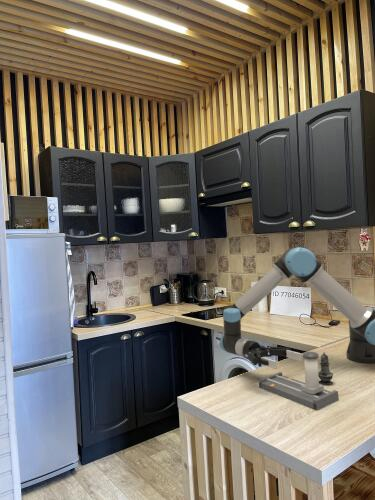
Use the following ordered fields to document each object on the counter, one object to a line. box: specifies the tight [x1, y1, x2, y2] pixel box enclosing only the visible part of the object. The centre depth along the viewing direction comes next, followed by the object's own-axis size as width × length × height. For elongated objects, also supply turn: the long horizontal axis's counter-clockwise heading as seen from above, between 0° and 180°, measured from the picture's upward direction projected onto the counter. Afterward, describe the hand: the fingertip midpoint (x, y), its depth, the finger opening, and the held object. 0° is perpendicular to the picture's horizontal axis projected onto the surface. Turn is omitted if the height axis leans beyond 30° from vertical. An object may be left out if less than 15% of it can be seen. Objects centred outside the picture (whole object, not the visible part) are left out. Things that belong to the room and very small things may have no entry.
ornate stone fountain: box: [318, 351, 334, 387], centre depth 140 cm, size 6×6×12 cm
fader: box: [301, 351, 325, 395], centre depth 126 cm, size 6×5×13 cm
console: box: [258, 371, 340, 411], centre depth 132 cm, size 12×26×3 cm, turn 34°
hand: (288, 361), depth 134 cm, fingers open, 13 cm apart
